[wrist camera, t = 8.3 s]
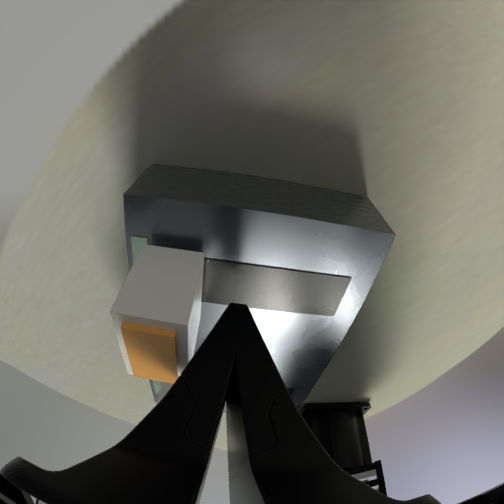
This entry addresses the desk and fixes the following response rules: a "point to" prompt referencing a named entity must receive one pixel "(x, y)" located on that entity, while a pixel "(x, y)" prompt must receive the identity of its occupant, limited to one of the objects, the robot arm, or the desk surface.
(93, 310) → the desk surface
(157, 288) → the handle
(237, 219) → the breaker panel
